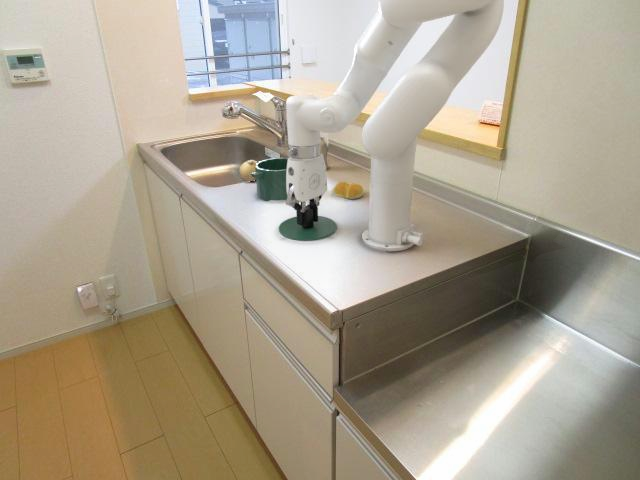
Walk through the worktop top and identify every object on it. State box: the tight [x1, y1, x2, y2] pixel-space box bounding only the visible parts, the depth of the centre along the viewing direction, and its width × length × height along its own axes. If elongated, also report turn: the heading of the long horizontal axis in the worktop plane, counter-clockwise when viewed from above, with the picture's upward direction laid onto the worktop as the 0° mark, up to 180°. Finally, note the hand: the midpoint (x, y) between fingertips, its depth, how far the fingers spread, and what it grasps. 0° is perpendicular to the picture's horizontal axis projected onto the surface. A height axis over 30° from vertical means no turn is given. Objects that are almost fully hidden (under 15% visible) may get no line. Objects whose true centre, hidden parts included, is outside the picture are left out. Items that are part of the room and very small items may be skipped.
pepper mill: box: [320, 132, 330, 171], centre depth 158 cm, size 7×7×15 cm
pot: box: [251, 157, 289, 202], centre depth 136 cm, size 14×19×10 cm
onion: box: [238, 159, 259, 182], centre depth 150 cm, size 8×8×7 cm
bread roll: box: [332, 181, 364, 200], centre depth 135 cm, size 8×9×4 cm
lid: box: [278, 205, 338, 242], centre depth 112 cm, size 15×15×6 cm
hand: (307, 222), depth 113 cm, fingers closed on lid, 3 cm apart
